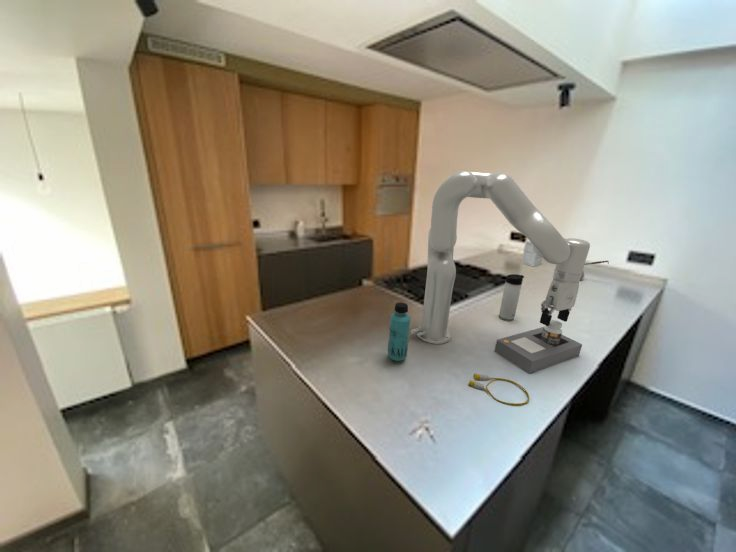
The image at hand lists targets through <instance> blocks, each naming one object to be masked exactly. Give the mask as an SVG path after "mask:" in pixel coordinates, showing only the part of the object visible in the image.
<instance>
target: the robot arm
mask: <svg viewBox="0 0 736 552" xmlns="http://www.w3.org/2000/svg"><path fill="white" fill-rule="evenodd" d="M466 198H474V199H475V198H476V199H489V200H490V201H491V202H492V203H493V204H494V205H495V207H496V208H497V209H498V210H499V211H500V213H501V214H502V215H503V216H504V217H505V219H506V220H507V221H508V222H509V224H510V225H511V226H513V228H514V229H515V230H516V231H518V232H519V233H520V234H521V235H523V236H525V238H527V240H530V241H531V242H532V244H533V250H534V252H535V253H536V254H537V255H538V256H540V257H541V258H542V260H544V261H545V262H547V263H550V264H553V265H555V269H554V272H553V276H552V280H551V282H550V285H549V288H548V290H547V293H546V296H545V300H543V301H542V302H541V304H540V306H541V307H540V310H541V312H540V313H541V315H540V318H539V319H540V320H539V323H540V324H542V325H544V326H545V325H546V326H549V325H550V321H551V320H552V316H553V313H554V311H557V312H558V314H557V319H558V320H560V321H561V322H562V321H563V322H568V319H569V315H570V312H571V311H572V308H574V307H575V304H576V301H577V297H578V293H579V286H580V280H581V279H580V278H581V274H582V271H583V272H584V267H585V266H586V265H585V263H586V262H587V258H588V254H589V251H590V247H591V244H590V242H589V241H587V240H584V239H580V238H572V237H571V238H566V237H565V238H564V236H562V234H561V233H560V232H559V230H558V229H557V228H556V227H555V226H554V225H553V224H552V223H551V222H550V221H549V220H548V219H547V218H546V217H545V216H544V215H543V213H542V212H541V211H540V210H539V208H537V207H536V206H535V205H534V203H533V202H532V201H531V200H530V198H529V197H528V196H527V195H526V194H525V192H524V191H523V190H522V188H520V186H519V185H518V184H517V182H516V181H515V180H514V178H512V176H510V175H509V174H507V173H505V172H504V173H503V172H499V173H498V172H495V173H494V172H475V171H470V170H459V171H456V172H454V173H453V174H452V175H451V176H450V177H448V178H447V179H445V180H444V181H443V182H442V183H441V184H440V185H439V187H438V188H437V190H436V192H435V194H434V195H433V199H432V200H433V201H432V205H431V217H430V229H429V231H428V242H427V272H426V280H425V281H426V282H425V289H424V290H425V291H424V297H423V298H424V301H423V308H422V319H421V323H419V325H418V327H416V328H412V329H409V333H410V334H411V335H416V336H417V337H418V338H419V339H420V340H422V341H423V342H426V343H429V344H433V345H441V344H445V343H447V342H449V341H450V340H451V333H450V332H449V331H448V324H449V317H450V309H451V304H452V303H451V302H452V295H453V289H454V284H455V280H456V275H457V274H456V272H457V268H456V263H455V260H454V247H455V246H456V242H457V238H458V237H457V226H458V215H459V207H460V205H461V203H462V202H463V200H465V199H466ZM549 309H550V310H549Z"/></svg>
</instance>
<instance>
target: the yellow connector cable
mask: <svg viewBox="0 0 736 552" xmlns="http://www.w3.org/2000/svg"><path fill="white" fill-rule="evenodd" d="M473 379H474V381H473V380H471V379H470V380H469V382H468V387H473V388H474V389H476V390H477V389H478V390H482V391H485V393H486V394H487V396H489V397H492V398H493V399H494V401H496V402H498V403H501V404H504V405H508V406H513V407H519V406H520V407H521V406H524V405H525V404H527V403H528V402H529V401H530V398H531V397H530V393H528V391H527V390H526V388H525V387H523V386H522V385H520V384H519V383H517V382H515V381H513V380H511V379H508V378H501V377H489V375H487V374H486V375H485V374H478V373H476V372H475V373H474V374H473ZM489 379H490V380H491V379H493V380H491V381H489ZM477 381H478V382H477ZM480 381H489V382H488V383H487V384H486V385H484V384H483V383H481V382H480ZM495 381H506V382H510V383H511V384H513V385H515V386H516V387H518V388H519V389H520V390H521V391H522V392H524V393H525V395H526V397H527V400H525V402H520V403H514V402H506V401H503V400H499V399H498V398H496V397H495V396H494V395H493V394H492V392H490V390H489V389H488V386H489V385H490V384H492V383H493V382H495Z"/></svg>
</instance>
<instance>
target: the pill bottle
mask: <svg viewBox="0 0 736 552" xmlns="http://www.w3.org/2000/svg"><path fill="white" fill-rule="evenodd" d="M543 327H544V328H543V331H542V335H541V339H540V340H542V341H544V342H546V343H548V344H549V345H551V346H553V347H556V346H558V344H559V341H560V338H561V334H562V333H563V330H562V327H563V323H562V321H561V322H560V321H559V320H556V319H551V321H550V325H549V326H546V325H544V326H543ZM562 335H563V334H562Z"/></svg>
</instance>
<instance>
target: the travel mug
mask: <svg viewBox="0 0 736 552" xmlns="http://www.w3.org/2000/svg"><path fill="white" fill-rule="evenodd" d="M524 278H525V276H524V275H522V274H517V273H516V274H515V273H514V274H507V276H506V279H505V283H504V288H503V293H502V298H501V301H500V302H501V303H500V309H499V314H498V317H499V319H500V320H502V321H504V322H505V321H506V322H513V321H514V320H515V318H516V317H515V316H516V312H517V308H518V305H519V304H518V303H519V298H520V294H521V290H522V285H523V280H524Z"/></svg>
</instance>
